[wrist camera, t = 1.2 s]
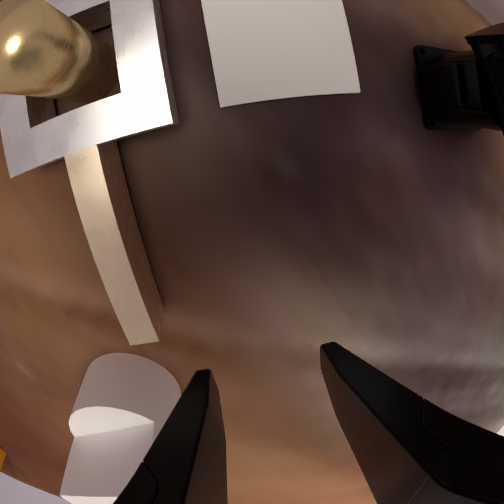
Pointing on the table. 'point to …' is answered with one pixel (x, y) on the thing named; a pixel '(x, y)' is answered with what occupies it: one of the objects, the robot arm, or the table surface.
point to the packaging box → (2, 457)
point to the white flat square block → (279, 49)
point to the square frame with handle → (104, 151)
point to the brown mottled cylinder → (52, 54)
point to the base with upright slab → (115, 425)
